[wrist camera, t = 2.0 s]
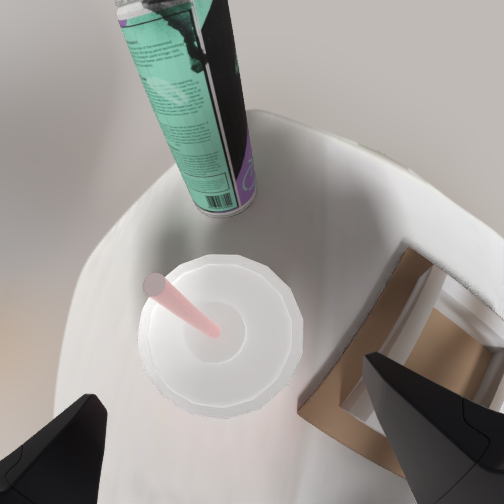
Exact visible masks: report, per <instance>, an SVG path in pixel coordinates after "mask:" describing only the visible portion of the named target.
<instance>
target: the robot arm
mask: <svg viewBox="0 0 504 504" xmlns="http://www.w3.org/2000/svg"><path fill="white" fill-rule="evenodd" d="M362 375H363V380H364V383H365V385H366V388H367V391H368V394H369V396H370V399H371V402H372V405H373V408H374V411H375V414H376V416H377V419H378V421H379V423H380V425H381V427H382V429H383V431H384V433H385V435H386V437H387V439H388V441H389V443H390V445H391V447H392V450H393V452H394V454H395V456H396V458H397V460H398V462H399V464H400V466H401V468H402V471H403V473H404V475H405V477H406V479H407V481H408V484H409V486H410V488H411V490H412V492H413V495H414V497H415V499H416V501H417V503H418V504H504V414H503V413H500V412H497V411H494V410H492V409H489V408H486V407H484V406H482V405H480V404H477V403H475V402H473V401H471V400H469V399H467V398H465V397H462V396H461V395H459V394H457V393H455V392H453V391H451V390H449V389H447V388H445V387H443V386H441V385H439V384H437V383H435V382H434V381H432V380H430V379H428V378H426V377H424V376H422V375H420V374H418V373H416V372H415V371H413V370H411V369H409V368H407V367H405V366H403V365H401V364H400V363H398V362H396V361H394V360H392V359H390V358H388V357H387V356H385V355H383V354H381V353H379V352H377V351H374V352H371V353H368V354H365V355H364V357H363V370H362ZM106 425H107V410H106V408H105V407H104V405H103V404H102V403H101V401H100V400H99V399H98V397H97V396H96V395H95V394H84V395H83V396H82V397H80V398H79V399H78V400H77V401H75V402H74V403H73V404H72V405H70V406H69V407H68V408H67V409H66V410H64V411H63V412H62V413H61V414H59V415H58V416H57V417H56V418H54V419H53V420H52V421H51V422H49V423H48V424H47V425H46V426H45V427H43V428H42V429H41V430H40V431H38V432H37V433H36V434H35V435H33V437H31V438H30V439H29V440H27V441H26V442H25V443H24V444H23V445H21V446H20V447H19V448H17V449H16V450H15V451H13V452H12V453H11V454H9V455H8V456H7V457H5V458H4V459H2V460H1V461H0V504H97V499H98V490H99V482H100V475H101V468H102V462H103V456H104V449H105V437H106Z"/></svg>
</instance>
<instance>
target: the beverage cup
mask: <svg viewBox="0 0 504 504" xmlns="http://www.w3.org/2000/svg"><path fill="white" fill-rule="evenodd" d="M143 290H144V292H145V293H146V295H148V296H149V298H148V300H147V302H146V304H145V305H144V307H143V309H142V312H141V318H140V324H139V331H138V338H137V342H138V346H139V351H140V355H141V360H142V364H143V368H144V371H145V373H146V374H147V375H148V377H149V378H150V380H151V381H152V383H153V384H154V385H155V387H156V388H157V390H158V391H159V392H160V394H161V395H162V396H163V397H164V398H166V399H167V400H169V401H170V402H172V403H173V404H175V405H177V406H178V407H180V408H182V409H183V410H185V411H187V412H189V413H190V414H193V415H200V416H207V417H214V418H222V419H227V418H231V417H235V416H238V415H242V414H245V413H249V412H252V411H255V410H258V409H261V408H262V407H263V406H264V405H265V404H267V403H268V402H269V401H270V400H271V399H273V398H274V397H275V396H276V395H277V394H278V393H280V392H281V391H282V390H283V389H284V388H285V387H286V386H287V385H288V383H289V381H290V379H291V377H292V375H293V373H294V371H295V369H296V367H297V365H298V363H299V360H300V358H301V356H302V354H303V317H302V315H301V312H300V310H299V308H298V305H297V303H296V300H295V298H294V296H293V293H292V291H291V289H290V288H289V287H288V286H287V285H286V284H285V283H284V282H283V281H282V280H281V279H280V278H279V277H278V276H277V275H276V274H275V273H274V272H273V271H272V270H271V269H270V268H269V267H268V266H265V265H263V264H261V263H258V262H256V261H253V260H251V259H248V258H246V257H243V256H241V255H221V254H208V255H205V256H202V257H199V258H197V259H194V260H191V261H188V262H186V263H183V264H180V265H179V266H177V267H176V268H175V269H174V270H173V271H171V272H170V273H169V274H168V275H167V276H166V277H164V276H163V275H162V274H160V273H152V274H150V275H148V276H147V277H146V278H145V280H144V283H143Z"/></svg>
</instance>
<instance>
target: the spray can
mask: <svg viewBox="0 0 504 504" xmlns="http://www.w3.org/2000/svg"><path fill="white" fill-rule="evenodd" d="M114 3H115V6H118V7H119V9H118V11H117V14H116V15H117V18H118V21H119V24H120V26H121V29H122V32H123V34H124V37H125V40H126V42H127V45H128V47H129V50H130V53H131V55H132V58H133V60H134V63H135V65H136V68H137V71H138V73H139V76H140V78H141V81H142V83H143V86H144V88H145V90H146V93H147V95H148V97H149V100H150V102H151V105H152V107H153V110H154V112H155V115H156V117H157V119H158V122H159V124H160V126H161V129H162V131H163V133H164V136H165V138H166V140H167V142H168V145H169V147H170V150H171V152H172V154H173V157H174V159H175V161H176V163H177V166H178V168H179V170H180V172H181V175H182V177H183V179H184V181H185V184H186V186H187V188H188V190H189V192H190V195H191V197H192V199H193V201H194V203H195V205H196V206H197V208H198V209H199V210H200V211H201V212H202V213H204V214H206V215H207V216H211V217H216V218H225V217H230V216H234V215H236V214H239V213H240V212H242V211H244V210H245V209H246V208H247V207H248V206H249V205H250V204H251V203H252V201H253V200H254V198H255V195H256V179H255V172H254V165H253V158H252V152H251V145H250V138H249V131H248V125H247V118H246V111H245V105H244V98H243V92H242V85H241V79H240V73H239V66H238V60H237V54H236V48H235V42H234V35H233V29H232V24H231V17H230V12H229V6H228V0H115V1H114Z"/></svg>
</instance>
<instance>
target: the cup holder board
mask: <svg viewBox="0 0 504 504" xmlns="http://www.w3.org/2000/svg"><path fill="white" fill-rule="evenodd" d="M374 351H377V352H379V353H381V354H383V355H385V356H387V357H388V358H390V359H392V360H394V361H396V362H398V363H400V364H401V365H403V366H405V367H407V368H409V369H411V370H413V371H415V372H416V373H418V374H420V375H422V376H424V377H426V378H428V379H430V380H432V381H434V382H435V383H437V384H439V385H441V386H443V387H445V388H447V389H449V390H451V391H453V392H455V393H457V394H459V395H461V396H462V397H465V398H467V399H469V400H471V401H473V402H475V403H477V404H480V405H482V406H484V407H486V408H489V409H492V410H494V411H497V412H499V410H500V408H501V405H502V403H503V401H504V321H503V320H502V319H501V318H500V317H499V316H498V315H496V314H495V313H494V312H493V311H492V310H491V309H490V308H488V307H487V306H486V305H485V304H484V303H483V302H481V301H480V300H479V299H478V298H477V297H475V296H474V295H473V294H472V293H471V292H469V291H468V290H467V289H466V288H464V287H463V286H462V285H461V284H459V283H458V282H457V281H456V280H454V279H453V278H452V277H450V276H449V275H448V274H446V273H445V272H444V271H443V270H441V269H440V268H439V267H437V266H436V265H435V264H432V263H431V262H430V261H428V260H427V259H425V258H424V257H423V256H421V255H420V254H418V253H417V252H416V251H414V250H413V249H411V248H410V247H408V248H407V249H406V251H405V252H404V253H403V255H402V257H401V259H400V261H399V263H398V265H397V267H396V269H395V271H394V272H393V274H392V276H391V278H390V280H389V281H388V283H387V285H386V287H385V288H384V290H383V292H382V294H381V295H380V297H379V299H378V300H377V302H376V304H375V305H374V307H373V309H372V310H371V312H370V314H369V315H368V317H367V318H366V320H365V321H364V323H363V325H362V326H361V328H360V329H359V331H358V332H357V334H356V335H355V337H354V338H353V340H352V341H351V343H350V344H349V346H348V347H347V349H346V350H345V351H344V353H343V354H342V356H341V357H340V358H339V360H338V361H337V363H336V364H335V365H334V367H333V368H332V369H331V371H330V372H329V373H328V375H327V376H326V377H325V379H324V380H323V381H322V383H321V384H320V385H319V386H318V388H317V389H316V390H315V391H314V393H313V394H312V395H311V396H310V398H309V399H308V400H307V401H306V403H305V404H304V405H303V406H302V407H301V409H300V410H299V411H298V412H297V414H298V415H299V416H301V417H302V418H303V419H305V420H306V421H308V422H309V423H311V424H312V425H314V426H315V427H317V428H318V429H320V430H321V431H323V432H324V433H326V434H327V435H329V436H331V437H332V438H334V439H335V440H337V441H338V442H340V443H342V444H343V445H345V446H347V447H348V448H350V449H352V450H353V451H355V452H357V453H358V454H360V455H362V456H364V457H365V458H367V459H369V460H371V461H372V462H374V463H376V464H378V465H380V466H382V467H383V468H385V469H387V470H389V471H391V472H393V473H395V474H397V475H399V476H401V477H403V478H405V479H406V477H405V475H404V473H403V471H402V468H401V466H400V464H399V462H398V460H397V458H396V456H395V454H394V452H393V450H392V447H391V445H390V443H389V441H388V439H387V437H386V435H385V433H384V431H383V429H382V427H381V425H380V423H379V421H378V419H377V416H376V414H375V411H374V408H373V405H372V402H371V399H370V396H369V394H368V391H367V388H366V385H365V383H364V380H363V375H362V370H363V357H364V355H365V354H368V353H371V352H374Z"/></svg>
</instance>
